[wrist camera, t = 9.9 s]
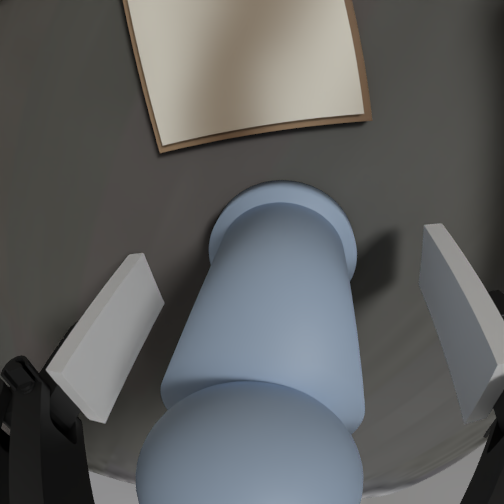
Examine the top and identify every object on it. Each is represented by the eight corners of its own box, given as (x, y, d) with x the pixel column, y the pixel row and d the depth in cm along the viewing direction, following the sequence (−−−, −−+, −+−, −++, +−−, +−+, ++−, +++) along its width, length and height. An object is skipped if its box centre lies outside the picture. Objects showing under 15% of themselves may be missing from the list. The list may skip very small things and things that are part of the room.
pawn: (231, 305, 16) (158, 559, 6) (199, 191, 13) (10, 496, 3) (355, 296, 15) (371, 577, 4) (349, 172, 12) (438, 576, 1)
